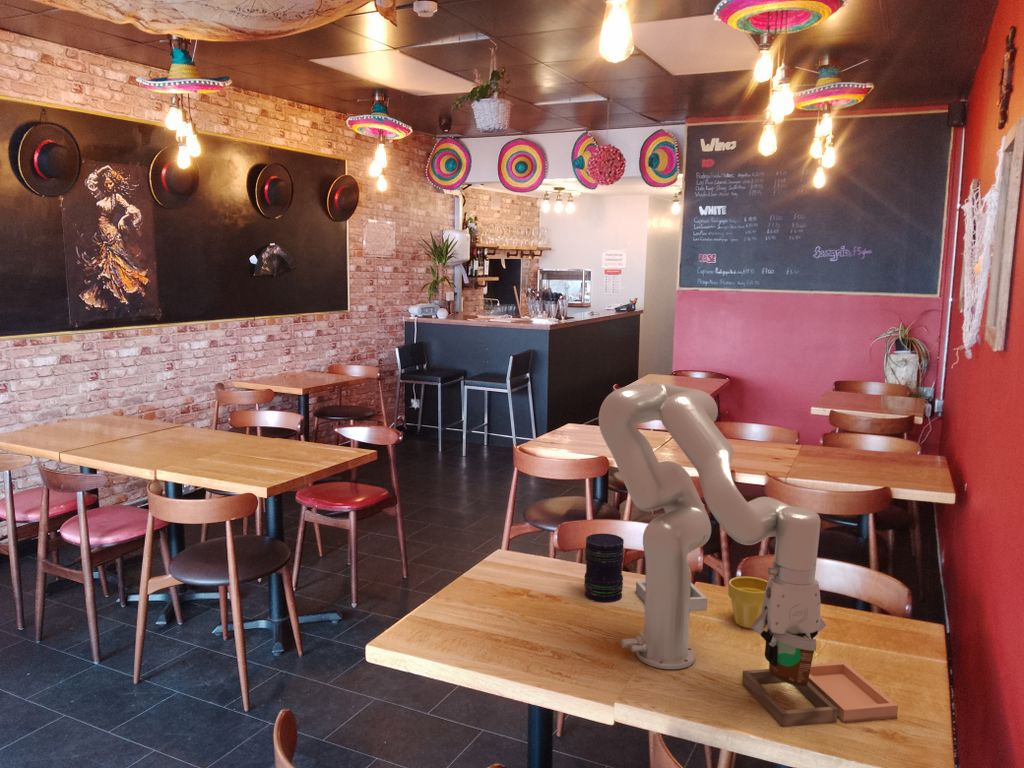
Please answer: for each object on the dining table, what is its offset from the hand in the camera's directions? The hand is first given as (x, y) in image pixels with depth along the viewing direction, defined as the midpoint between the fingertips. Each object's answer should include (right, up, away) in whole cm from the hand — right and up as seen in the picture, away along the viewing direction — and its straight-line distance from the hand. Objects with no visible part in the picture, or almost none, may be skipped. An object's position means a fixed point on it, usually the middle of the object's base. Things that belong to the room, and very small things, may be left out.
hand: (785, 660), depth 151 cm
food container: (-1, -3, 0) cm, 3 cm away
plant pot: (+4, -4, +35) cm, 36 cm away
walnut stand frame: (+1, -8, +1) cm, 8 cm away
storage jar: (-29, -1, +51) cm, 59 cm away
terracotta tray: (+12, -8, +3) cm, 15 cm away
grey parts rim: (-13, -2, +48) cm, 49 cm away
